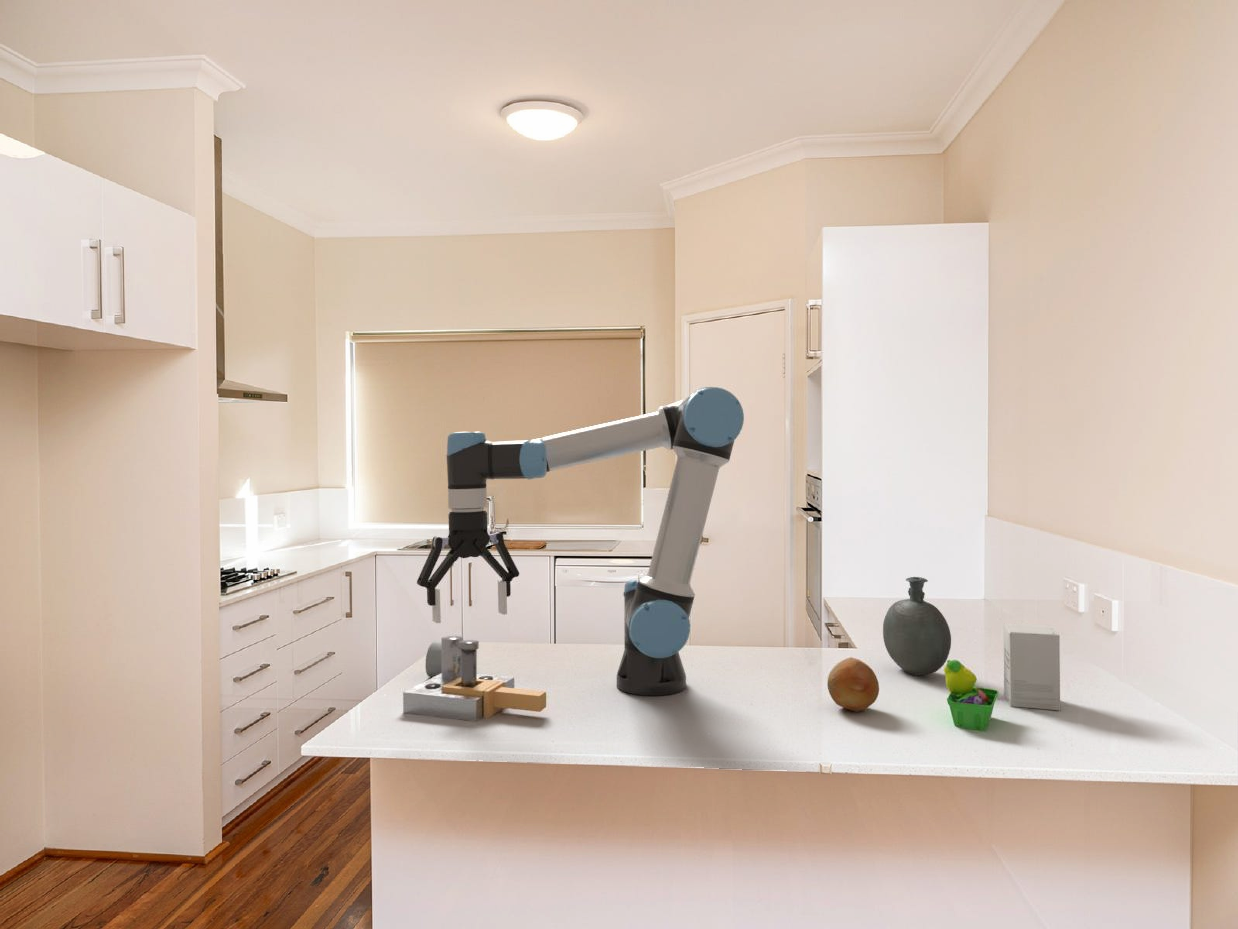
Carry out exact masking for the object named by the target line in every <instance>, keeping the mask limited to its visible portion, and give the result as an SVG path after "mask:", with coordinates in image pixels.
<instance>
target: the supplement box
mask: <svg viewBox="0 0 1238 929" xmlns="http://www.w3.org/2000/svg"><path fill="white" fill-rule="evenodd" d="M1060 637H1061V636H1060V634H1058V633H1057V632H1056V630H1054V628H1053V627H1052V626H1051V625H1050V626H1049V625H1038V624H1037V625H1036V624H1017V623H1016V624H1015V623H1003V694H1004V696H1005V698H1006V700H1007V702H1008V704H1009V705H1010V707H1013V708H1029V709H1038V710H1050V711H1061V672H1060V671H1061V668H1060V667H1061V666H1060V662H1061V656H1060V653H1061V651H1060V643H1061V642H1060V640H1061V639H1060Z"/></svg>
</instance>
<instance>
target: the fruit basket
mask: <svg viewBox="0 0 1238 929" xmlns="http://www.w3.org/2000/svg"><path fill="white" fill-rule="evenodd" d="M943 673H944V674H945V686H946V687H947V689H948V691H949V692H950V693H949V695H948V696H947V697H946V701H947V702H946V703H947V705H948V706H949V709H950V713H951V717H952V718H951V719H952V721H953V726H954V727H958V728H959V727H960V728H962V729H963V728H964V729H969V730H975V731H977V730H978V731H980V732H981V731H983V732H985V731H986V729H987V727H988V724H989V722H990V720H991V717H992V714H993V711H994V707H995V703H996V700H997V698H998V696H999V690H997V689H992V688H985V687H978V686H975V684H976V682H977V680H978V679H977V677H976V674H975V673H973V672H972V671H971V670H970V669H969V668H968V667H966V666H965V665H963V664H962V663H961V662H960V661H959V660H958V659H952V660H951V659H947V660H946V664H945V665H944V669H943Z"/></svg>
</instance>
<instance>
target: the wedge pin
mask: <svg viewBox="0 0 1238 929" xmlns="http://www.w3.org/2000/svg"><path fill="white" fill-rule="evenodd" d="M479 642H480V641H479V640H477V639H476V640H475V639H466V640H464V639H463V641H460V642H459V649H460V650H461V687H471V688H474V687H475V686H477V674H478V673H477V672H478V667H477V666H478V664H477V663H478V662H477V659H478V656H477V654H478V653H477V652H478V651H477V650H478V649H480V647H479V645H480V644H479Z"/></svg>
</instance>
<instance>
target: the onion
mask: <svg viewBox="0 0 1238 929" xmlns="http://www.w3.org/2000/svg"><path fill="white" fill-rule="evenodd" d="M827 690H828V693H829V695H830V697H831V699H832V700H833V702H834V703H835V704H836V705H837V706H839V707H841V708H843V709H846V710H849V711H852V712H855V713H857V712H858V713H859V712H862V711H864V710H866V709H868V708H869V707H870V706H871V705H873V704H874V703H875V702H876V701H877V698H878V696H879V692H880V684H879V680H878V677H877V675H876V673H875V671H874V670H873V669H872V668H871V666H869V665H868V664H867V663H865V662H863V661H862V660H861V659H859V658H855V657H848V658H845V659H842V660H841V661H839V662H837V663H836V665H834V666H833V668H832V669H831V670H830V672H829V674H828V676H827Z"/></svg>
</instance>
